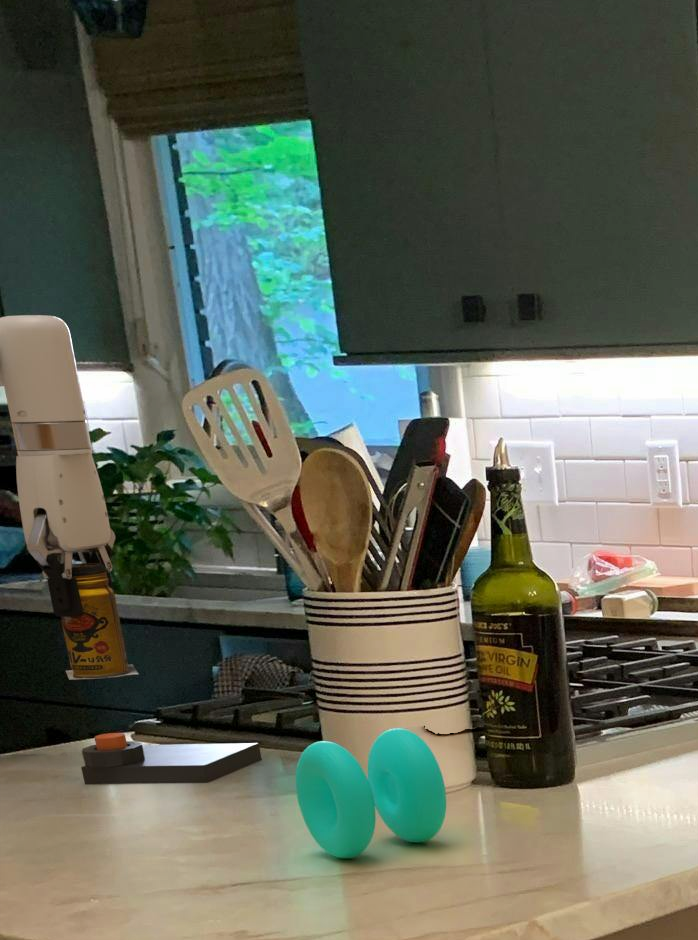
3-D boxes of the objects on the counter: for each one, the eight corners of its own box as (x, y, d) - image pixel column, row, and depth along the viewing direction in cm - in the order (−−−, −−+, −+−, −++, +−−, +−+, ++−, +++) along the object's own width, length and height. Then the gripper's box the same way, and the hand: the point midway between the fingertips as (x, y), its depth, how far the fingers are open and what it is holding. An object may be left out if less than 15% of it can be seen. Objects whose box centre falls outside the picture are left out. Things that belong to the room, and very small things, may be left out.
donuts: (460, 846, 170) (442, 731, 166) (357, 869, 164) (336, 750, 160) (403, 831, 177) (384, 720, 173) (301, 852, 171) (280, 738, 166)
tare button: (91, 753, 203) (88, 738, 202) (107, 747, 206) (104, 732, 205) (118, 752, 202) (114, 737, 202) (133, 747, 205) (130, 732, 204)
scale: (78, 786, 203) (70, 752, 202) (140, 762, 214) (134, 730, 213) (205, 784, 201) (198, 750, 199) (262, 760, 212) (256, 728, 211)
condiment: (70, 681, 216) (47, 569, 211) (65, 672, 223) (43, 563, 218) (139, 676, 219) (119, 565, 214) (133, 667, 225) (113, 559, 221)
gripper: (66, 437, 218) (97, 603, 225) (-28, 444, 202) (10, 622, 210) (127, 437, 217) (157, 603, 224) (38, 443, 201) (74, 622, 209)
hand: (86, 611), depth 217 cm, fingers closed on condiment, 6 cm apart
